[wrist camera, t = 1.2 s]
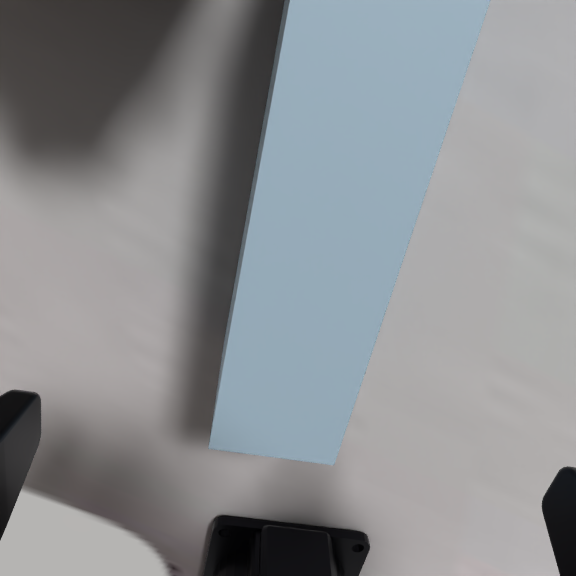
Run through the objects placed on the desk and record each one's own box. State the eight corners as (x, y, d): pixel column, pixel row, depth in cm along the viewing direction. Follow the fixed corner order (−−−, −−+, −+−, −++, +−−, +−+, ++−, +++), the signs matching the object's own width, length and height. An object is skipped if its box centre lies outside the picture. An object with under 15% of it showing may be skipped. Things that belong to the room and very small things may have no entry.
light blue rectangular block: (319, 352, 18) (335, 471, 13) (224, 337, 17) (206, 454, 13) (452, -121, 12) (565, -204, 7) (311, -159, 11) (338, -273, 7)
